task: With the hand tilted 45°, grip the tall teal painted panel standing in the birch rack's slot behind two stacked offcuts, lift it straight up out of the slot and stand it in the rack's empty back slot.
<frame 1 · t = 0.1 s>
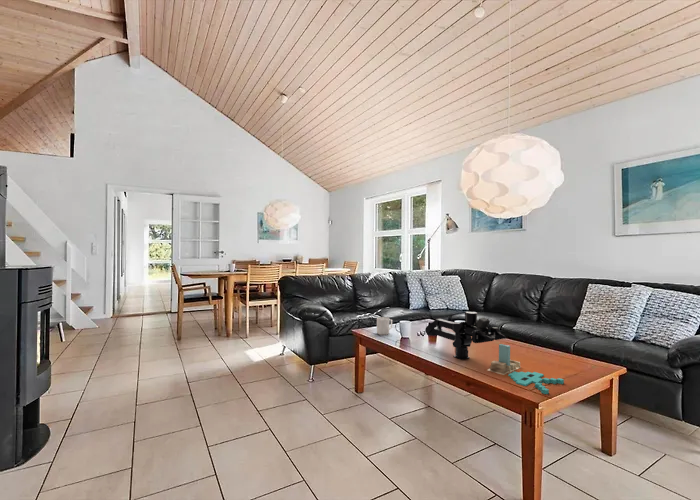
hand: (499, 338, 187), 17 cm above the table, tool horizontal, fingers open, 9 cm apart
upper oak offcut: (498, 366, 185), point 3 cm above the table, touching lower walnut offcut
birch rack: (504, 370, 189), on the table
alien figure: (532, 383, 173), on the table
teal panel: (504, 368, 189), point 1 cm above the table, touching birch rack
mug: (384, 333, 265), on the table
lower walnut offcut: (498, 370, 185), point 1 cm above the table, touching birch rack, upper oak offcut
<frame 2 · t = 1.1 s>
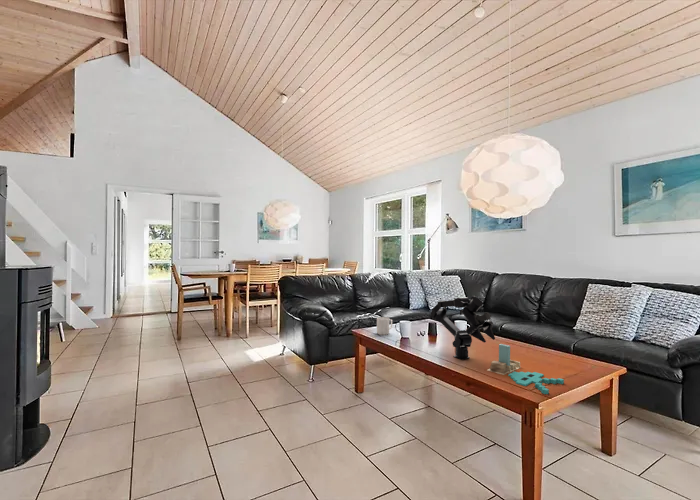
hand: (489, 340, 195), 14 cm above the table, tool tilted 45°, fingers open, 9 cm apart
nothing on the table moved.
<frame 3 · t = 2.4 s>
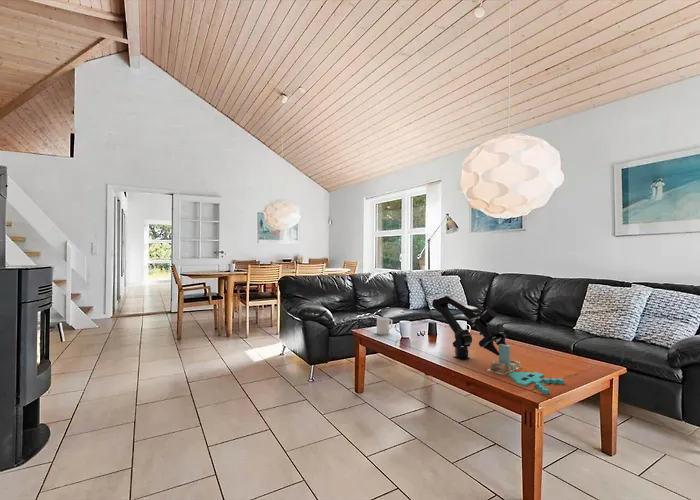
hand: (503, 353, 189), 9 cm above the table, tool tilted 45°, fingers open, 9 cm apart
nothing on the table moved.
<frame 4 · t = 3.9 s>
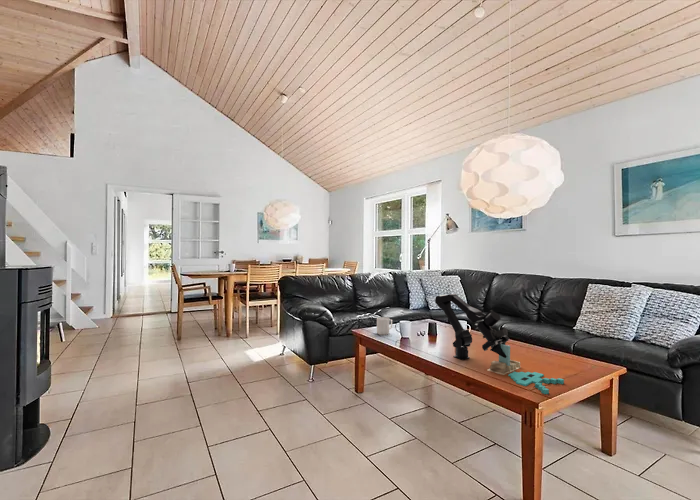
hand: (507, 357, 187), 7 cm above the table, tool tilted 45°, fingers closed on teal panel, 2 cm apart
teal panel: (504, 368, 189), point 1 cm above the table, touching birch rack, gripper
everything else where it was.
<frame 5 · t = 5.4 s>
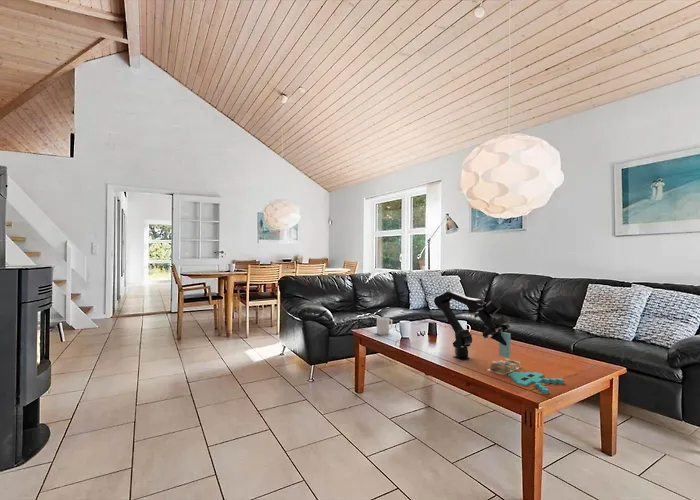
hand: (507, 344, 187), 14 cm above the table, tool tilted 45°, fingers closed on teal panel
teal panel: (504, 356, 189), point 7 cm above the table, touching gripper
everything else where it was.
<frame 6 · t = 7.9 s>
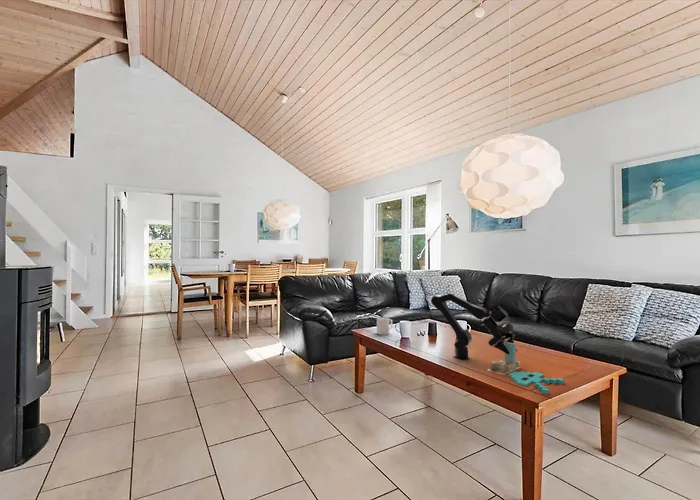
hand: (512, 352, 191), 8 cm above the table, tool tilted 45°, fingers open, 7 cm apart
teal panel: (510, 366, 192), point 1 cm above the table, touching birch rack
everything else where it was.
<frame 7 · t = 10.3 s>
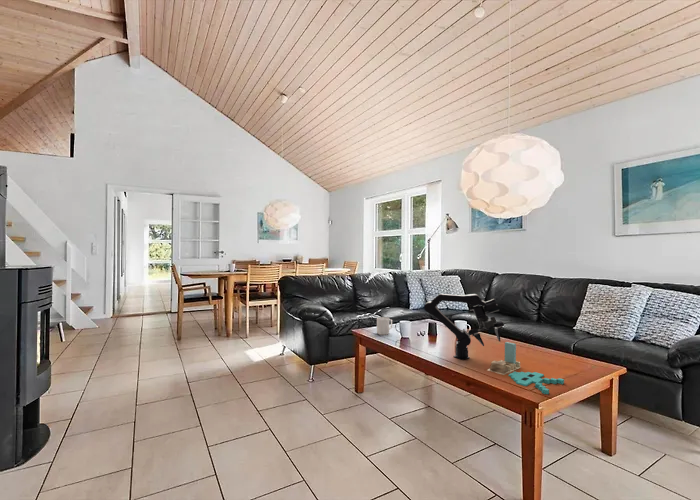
hand: (491, 343, 200), 10 cm above the table, tool tilted 25°, fingers open, 9 cm apart
nothing on the table moved.
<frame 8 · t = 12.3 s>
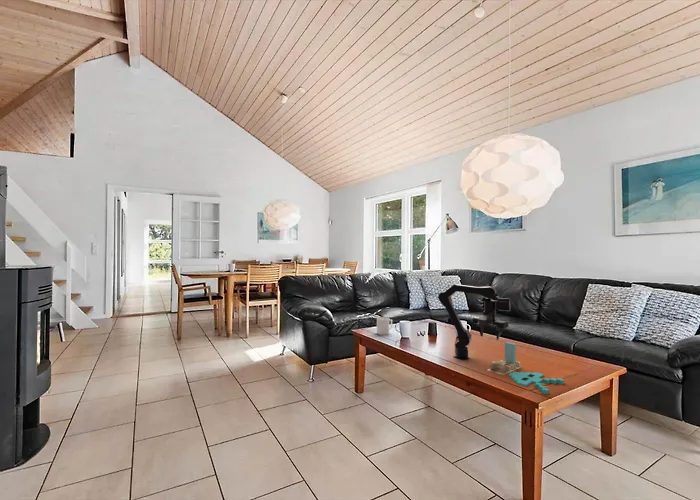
hand: (489, 338, 203), 13 cm above the table, tool pointing down, fingers open, 9 cm apart
nothing on the table moved.
at the end: teal panel 0.1 cm from the target spot on the birch rack, point 1.0 cm above the birch rack's base; teal panel tilted 0°; upper oak offcut moved 0.0 cm from its start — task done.
